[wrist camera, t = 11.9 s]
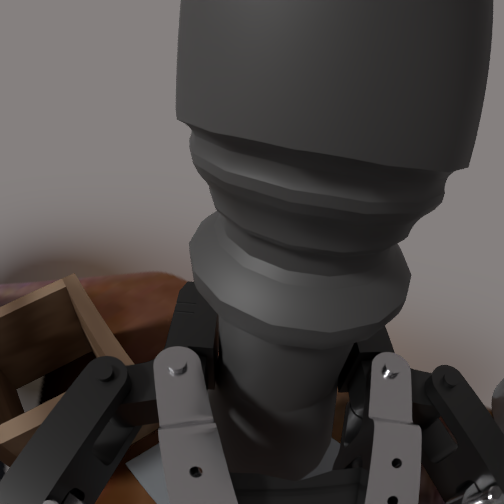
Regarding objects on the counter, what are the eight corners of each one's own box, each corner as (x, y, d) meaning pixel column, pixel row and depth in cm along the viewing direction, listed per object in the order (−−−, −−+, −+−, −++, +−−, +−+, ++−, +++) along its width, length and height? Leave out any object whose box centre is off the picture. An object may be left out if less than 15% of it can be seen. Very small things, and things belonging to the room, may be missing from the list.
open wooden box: (97, 337, 27) (74, 273, 23) (161, 426, 21) (139, 371, 17) (4, 384, 21) (-38, 326, 16) (46, 489, 14) (-14, 450, 10)
